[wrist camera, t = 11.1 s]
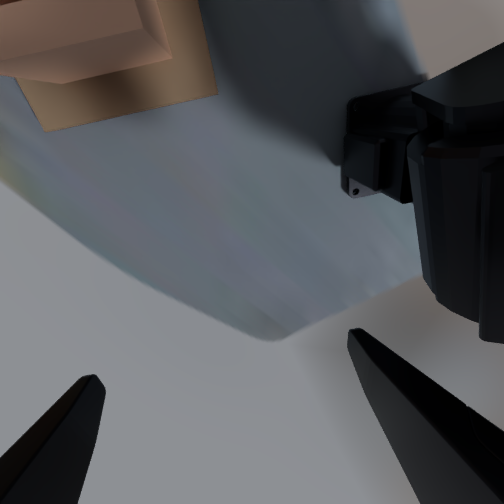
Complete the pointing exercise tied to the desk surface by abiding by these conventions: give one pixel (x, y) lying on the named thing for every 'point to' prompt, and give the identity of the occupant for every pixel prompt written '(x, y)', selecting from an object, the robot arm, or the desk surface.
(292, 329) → the desk surface
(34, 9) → the collar
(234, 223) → the desk surface
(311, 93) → the desk surface
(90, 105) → the pin board
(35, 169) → the desk surface
